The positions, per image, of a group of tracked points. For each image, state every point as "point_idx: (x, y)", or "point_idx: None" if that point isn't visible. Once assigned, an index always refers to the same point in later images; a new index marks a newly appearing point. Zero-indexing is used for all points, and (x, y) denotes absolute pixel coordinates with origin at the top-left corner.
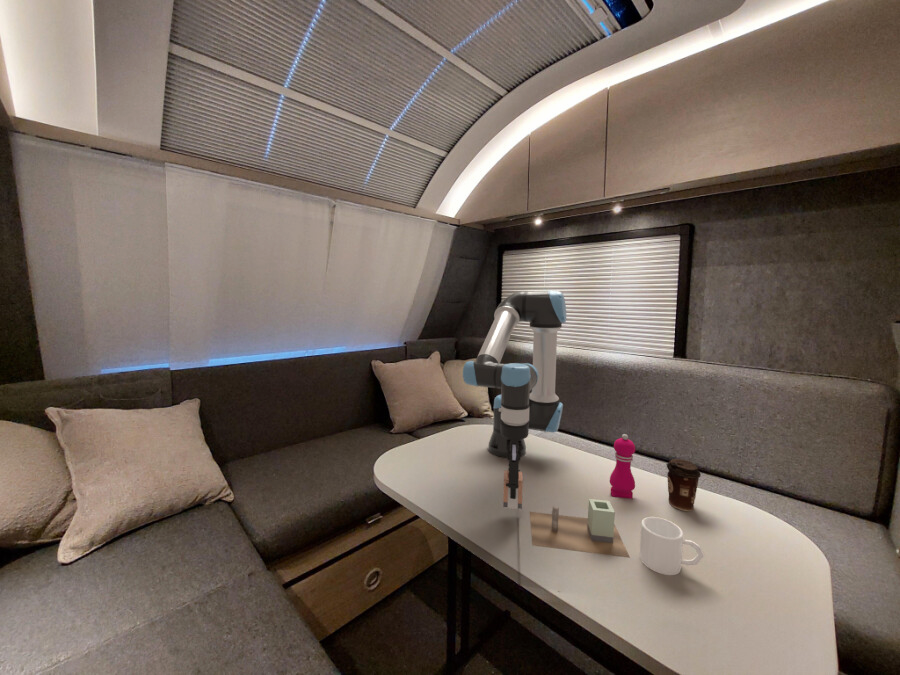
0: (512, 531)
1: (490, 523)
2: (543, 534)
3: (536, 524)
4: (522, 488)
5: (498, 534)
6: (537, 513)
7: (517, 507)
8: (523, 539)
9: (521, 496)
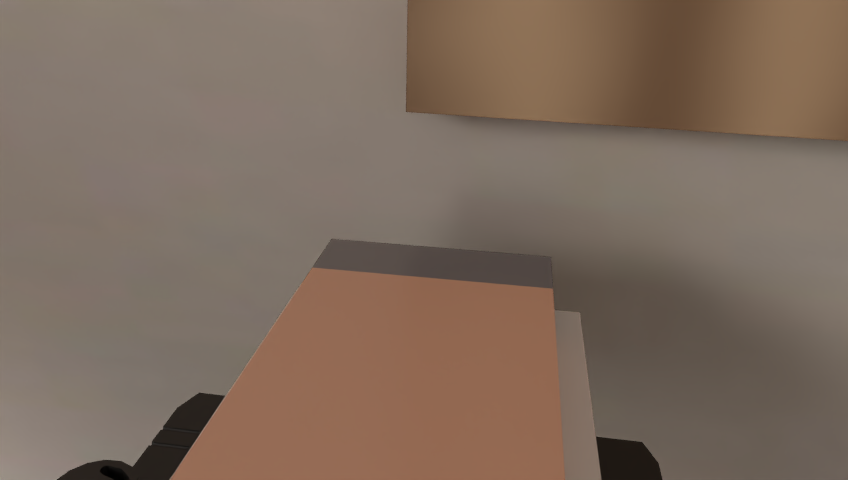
0: (668, 279)
1: None
2: (836, 3)
3: (642, 63)
4: (561, 433)
5: (714, 390)
6: (426, 27)
7: (579, 324)
8: (791, 197)
9: (554, 354)
